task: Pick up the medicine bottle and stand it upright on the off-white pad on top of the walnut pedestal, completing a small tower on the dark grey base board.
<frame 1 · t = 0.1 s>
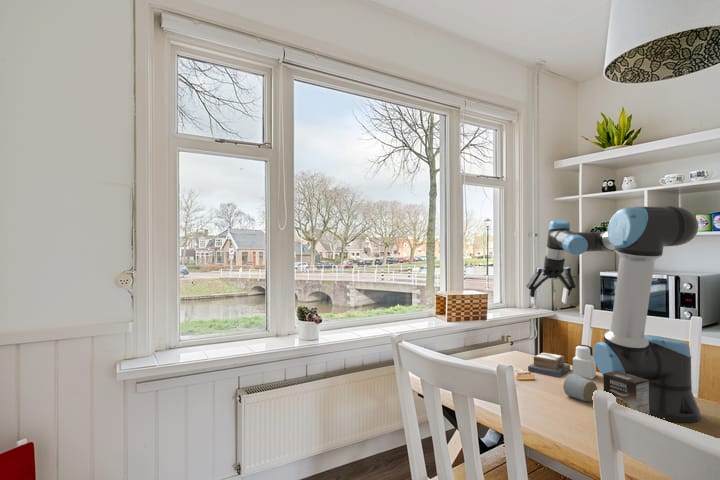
hand: (548, 303, 174), 28 cm above the table, tool tilted 20°, fingers open, 13 cm apart
pedestal stand: (549, 370, 170), on the table
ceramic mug: (582, 398, 139), on the table
coffee box: (626, 434, 112), on the table
medicine bottle: (584, 376, 162), on the table
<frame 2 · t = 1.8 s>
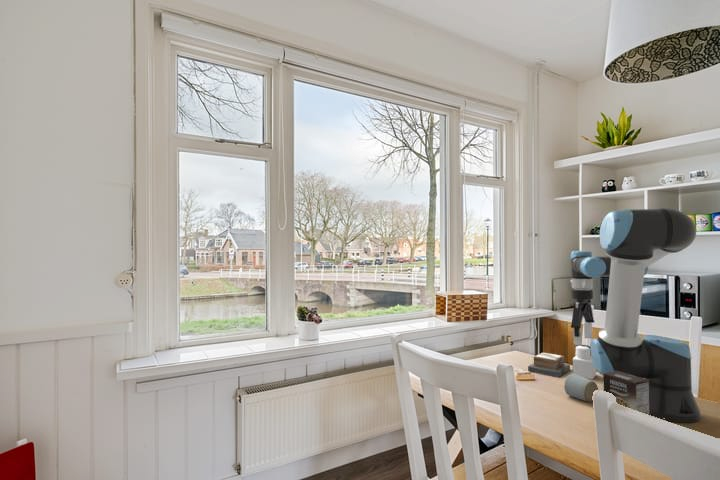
hand: (583, 341, 163), 14 cm above the table, tool pointing down, fingers open, 13 cm apart
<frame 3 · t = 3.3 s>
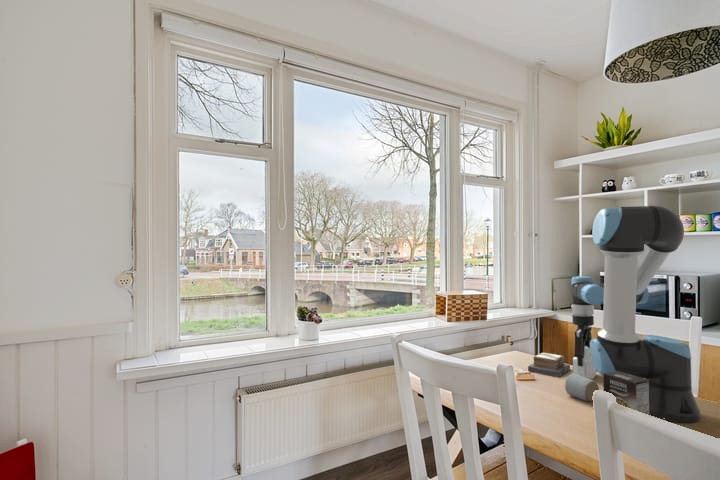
hand: (584, 371, 162), 2 cm above the table, tool pointing down, fingers closed on medicine bottle, 7 cm apart
medicine bottle: (584, 376, 162), on the table, touching gripper
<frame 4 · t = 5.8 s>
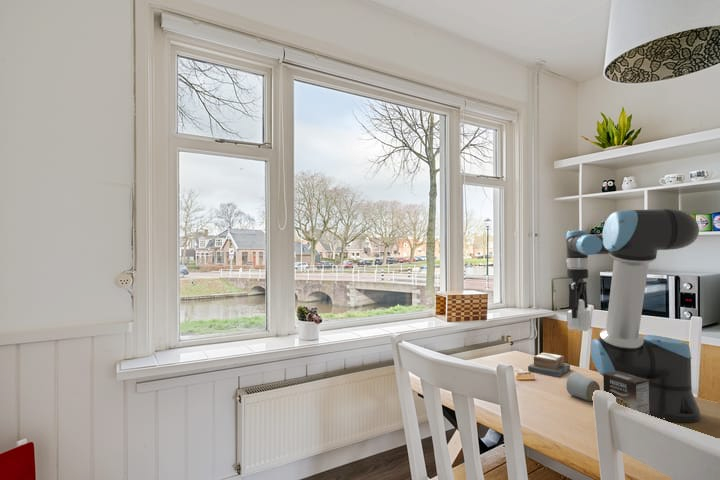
hand: (578, 324, 164), 20 cm above the table, tool pointing down, fingers closed on medicine bottle, 7 cm apart
medicine bottle: (579, 329, 164), point 18 cm above the table, touching gripper
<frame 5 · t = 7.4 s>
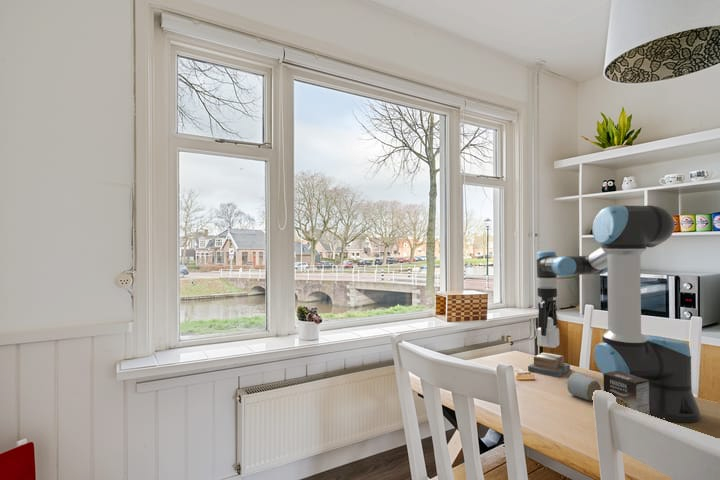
hand: (548, 341, 170), 12 cm above the table, tool pointing down, fingers closed on medicine bottle, 7 cm apart
medicine bottle: (548, 345, 170), point 10 cm above the table, touching gripper
when the fingers open (9 cm above the table, at t = 8.5 s): medicine bottle stays where it is, resting on pedestal stand.
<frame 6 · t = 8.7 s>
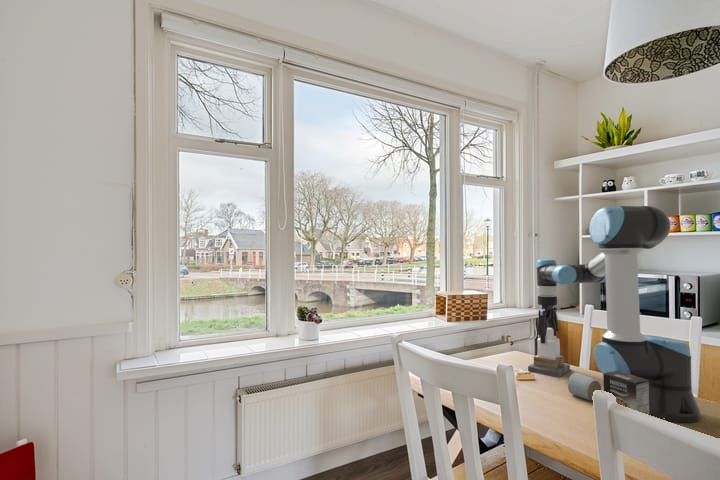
hand: (548, 348, 170), 9 cm above the table, tool pointing down, fingers open, 9 cm apart
medicine bottle: (548, 356, 170), point 6 cm above the table, touching pedestal stand
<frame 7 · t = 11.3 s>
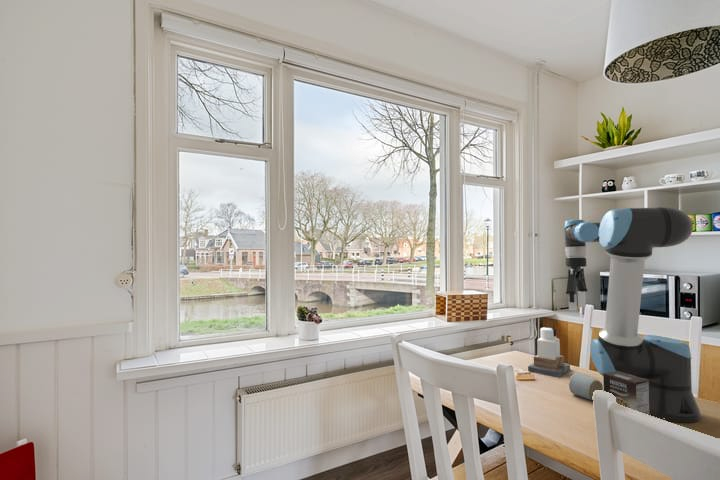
hand: (577, 308, 166), 26 cm above the table, tool pointing down, fingers open, 13 cm apart
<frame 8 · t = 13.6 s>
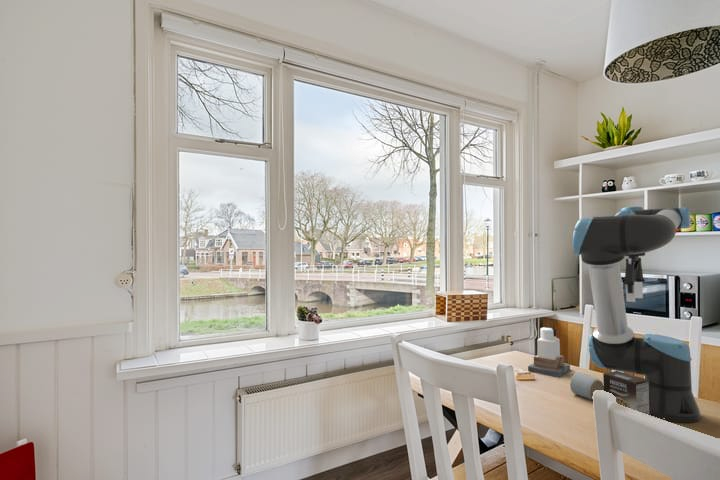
hand: (634, 299, 158), 31 cm above the table, tool pointing down, fingers open, 13 cm apart
at the end: medicine bottle 0.1 cm off-centre on the pedestal stand, point 5.8 cm above the pedestal stand's base; medicine bottle tilted 0°; the gripper is holding nothing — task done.
